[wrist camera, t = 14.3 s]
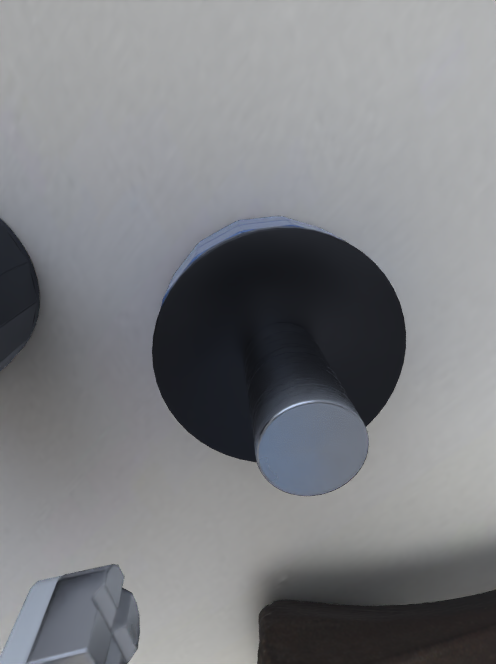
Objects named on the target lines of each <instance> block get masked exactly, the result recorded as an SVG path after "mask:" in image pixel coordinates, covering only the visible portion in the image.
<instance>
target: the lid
mask: <svg viewBox="0 0 496 664" xmlns="http://www.w3.org/2000/svg"><path fill="white" fill-rule="evenodd" d="M405 349H406V330H405V322H404V316H403V312H402V309H401V305H400V302H399V300H398V297H397V295H396V293H395V291H394V288H393V287H392V285H391V284H390V282H389V280H388V279H387V277H386V276H385V274H384V273H383V272H382V271H381V270H380V269H379V267H378V266H377V265H376V264H375V263H374V262H373V261H372V260H371V259H370V258H368V257H367V256H366V255H365V254H364V253H363V252H361V251H360V250H358V249H357V248H355V247H354V246H352V245H350V244H349V243H347V242H345V241H344V240H341V239H339V238H337V237H335V236H332V235H330V234H328V233H324V232H321V231H317V230H314V229H309V228H302V227H294V226H275V227H267V228H260V229H255V230H251V231H248V232H244V233H240V234H238V235H235V236H233V237H231V238H228V239H226V240H224V241H222V242H220V243H218V244H217V245H215V246H213V247H212V248H210V249H208V250H207V251H206V252H204V253H203V254H202V255H200V256H199V257H198V258H197V259H195V260H194V261H193V262H192V263H191V264H190V265H189V266H188V267H187V268H186V269H185V270H184V271H183V272H182V274H181V275H180V276H179V278H178V279H177V280H176V282H175V283H174V284H173V286H172V287H171V289H170V291H169V293H168V295H167V296H166V298H165V300H164V302H163V304H162V307H161V310H160V312H159V315H158V318H157V321H156V325H155V330H154V335H153V346H152V357H153V368H154V373H155V377H156V382H157V385H158V387H159V390H160V393H161V395H162V397H163V399H164V401H165V403H166V405H167V406H168V408H169V410H170V411H171V413H172V414H173V415H174V417H175V418H176V419H177V421H178V422H179V423H180V424H181V425H182V426H183V427H184V428H185V429H186V430H187V431H188V432H189V433H190V434H191V435H193V436H194V437H195V438H197V439H198V440H199V441H200V442H202V443H204V444H205V445H207V446H209V447H210V448H212V449H214V450H216V451H219V452H221V453H223V454H225V455H228V456H231V457H235V458H238V459H242V460H247V461H252V462H257V464H258V467H259V469H260V471H261V473H262V474H263V476H264V477H265V478H266V479H267V480H268V481H269V482H270V483H271V484H272V485H273V486H275V487H276V488H278V489H279V490H282V491H284V492H286V493H289V494H293V495H299V496H315V495H321V494H325V493H328V492H331V491H334V490H336V489H338V488H340V487H341V486H343V485H345V484H346V483H347V482H349V481H350V480H351V479H352V478H353V477H354V476H355V475H356V474H357V473H358V471H359V470H360V469H361V467H362V465H363V464H364V461H365V459H366V456H367V453H368V446H369V438H368V433H367V430H366V426H367V425H368V424H369V423H370V422H371V421H372V420H373V419H374V418H375V417H376V416H377V415H378V413H379V412H380V411H381V410H382V408H383V407H384V406H385V404H386V403H387V401H388V399H389V398H390V396H391V394H392V393H393V391H394V388H395V386H396V384H397V382H398V379H399V377H400V373H401V370H402V366H403V363H404V356H405Z"/></svg>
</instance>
